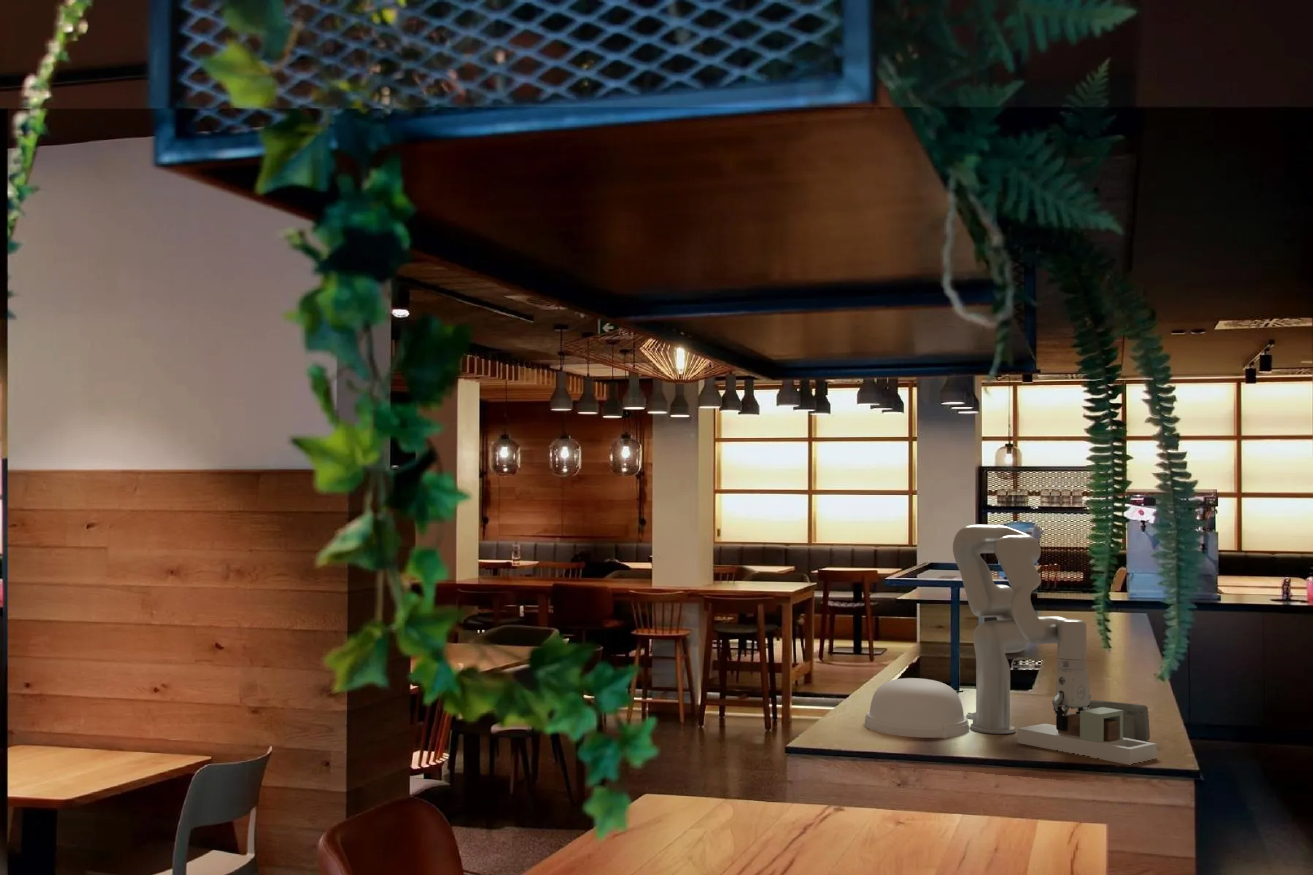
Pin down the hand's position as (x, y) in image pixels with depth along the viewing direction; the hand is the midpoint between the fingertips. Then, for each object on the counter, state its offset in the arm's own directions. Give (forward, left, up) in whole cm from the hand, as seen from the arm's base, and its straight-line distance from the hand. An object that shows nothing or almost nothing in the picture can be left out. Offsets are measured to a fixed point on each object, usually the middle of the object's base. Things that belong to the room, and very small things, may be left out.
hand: (1071, 728), depth 337 cm
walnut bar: (+5, 0, -1) cm, 5 cm away
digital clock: (0, +23, -6) cm, 24 cm away
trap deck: (+4, 0, -5) cm, 7 cm away
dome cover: (-43, -12, -6) cm, 45 cm away
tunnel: (+9, 0, -1) cm, 9 cm away
